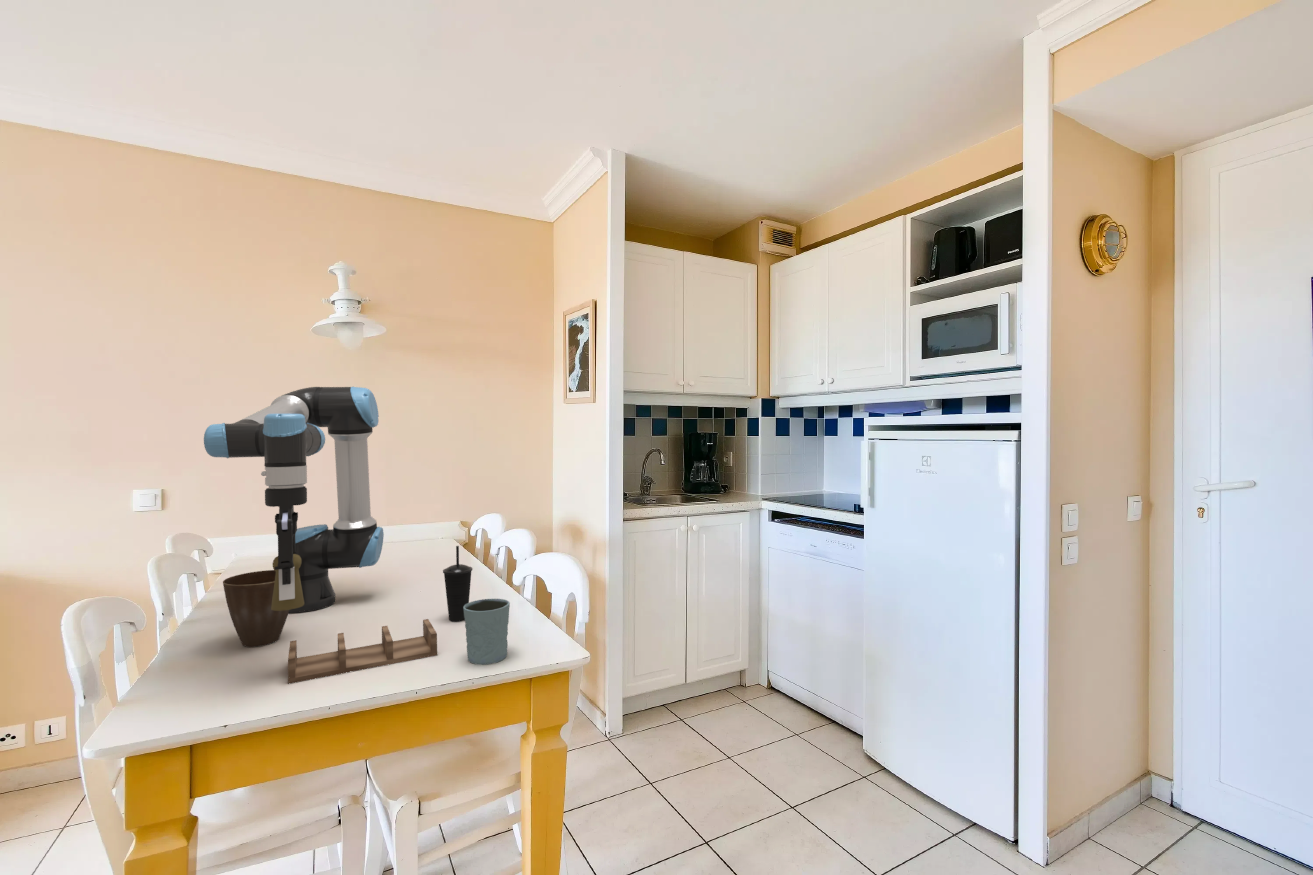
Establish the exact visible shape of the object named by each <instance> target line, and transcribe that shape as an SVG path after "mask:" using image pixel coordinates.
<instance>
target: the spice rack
mask: <svg viewBox="0 0 1313 875" xmlns="http://www.w3.org/2000/svg"><path fill="white" fill-rule="evenodd" d="M297 644H298V643H297V639H296V640H290V641H289V646H288V647H289V648H288V657H287V675H288V676H287V680H288V682H287V684H288V685H290V684H294V683H295V682H296V683H299V682H305V681H310V679H311V680H315V678H316V679H321V678H326V677H325V676H327V677H331V676H330V675H332V676H337V675H341V673H342V674H345V673H346V672H347V673H351V672H350V671H353V672H357V671H362V669H363V670H367V668H368V669H372V668H373V669H374V668H377V666H378V667H382V666H383V665H384V666H388V664H389V665H393V664H397V663H404V662H409V661H410V662H411V661H414V660H420V659H424V658H425V659H426V658H430V657H434V656H438V632H437V631H436V630H435V628H434V626H433V624H432V623H431V621H430V620H429V619H428V618H427V619H426V618H425V619H422V636H415V637H410V638H405V639H398V640H394V639H393V638H392V635H391V632H390V628H389V626H388V625H383V626H381V643H377V644H371V645H370V644H369V645H365V646H359V647H358V646H357V647H353V648H348V649H347V648H346V647H347V646H346V641H345V634H344V632H339V633H337V650H335V651H331V652H330V651H329V652H325V653H324V652H323V653H319V654H313V655H306V656H301V657H298V656H297V655H298V651H297V650H298V649H297V648H298V647H297V646H298V645H297ZM336 674H337V675H336ZM289 683H290V684H289Z"/></svg>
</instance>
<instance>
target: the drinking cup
mask: <svg viewBox="0 0 1313 875" xmlns="http://www.w3.org/2000/svg"><path fill="white" fill-rule="evenodd" d="M455 550H456V551H455V552H456V553H455V554H456V555H455V557H456V559H455V561H456V564H453V565H450V566H448V567H446V568H443V570H442V574H443V576H444V585H445V593H446V594H445V595H446V604H447V612H448V614H447V615H448V621H449V622H452V623H457V622H458V623H460V622H465V618H464V609H463V607H464V605H466V604H467V603H470V594H471V580H472V571H473V567H471V566H469V565H467V564H463V563H462V564H461V563H460V546H459V545H456V546H455Z"/></svg>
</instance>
